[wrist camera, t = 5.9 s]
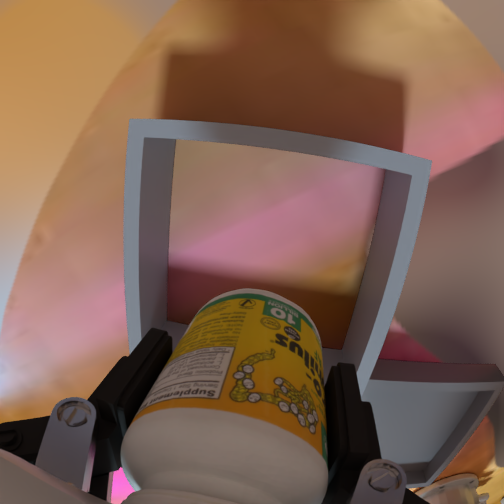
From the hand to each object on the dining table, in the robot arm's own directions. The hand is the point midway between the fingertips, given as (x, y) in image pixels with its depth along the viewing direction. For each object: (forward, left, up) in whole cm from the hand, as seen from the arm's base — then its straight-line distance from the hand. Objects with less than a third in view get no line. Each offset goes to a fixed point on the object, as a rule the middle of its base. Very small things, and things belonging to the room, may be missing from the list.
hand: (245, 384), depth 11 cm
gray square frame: (0, 0, -13) cm, 13 cm away
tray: (-16, +16, -13) cm, 25 cm away
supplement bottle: (0, 0, -3) cm, 3 cm away
